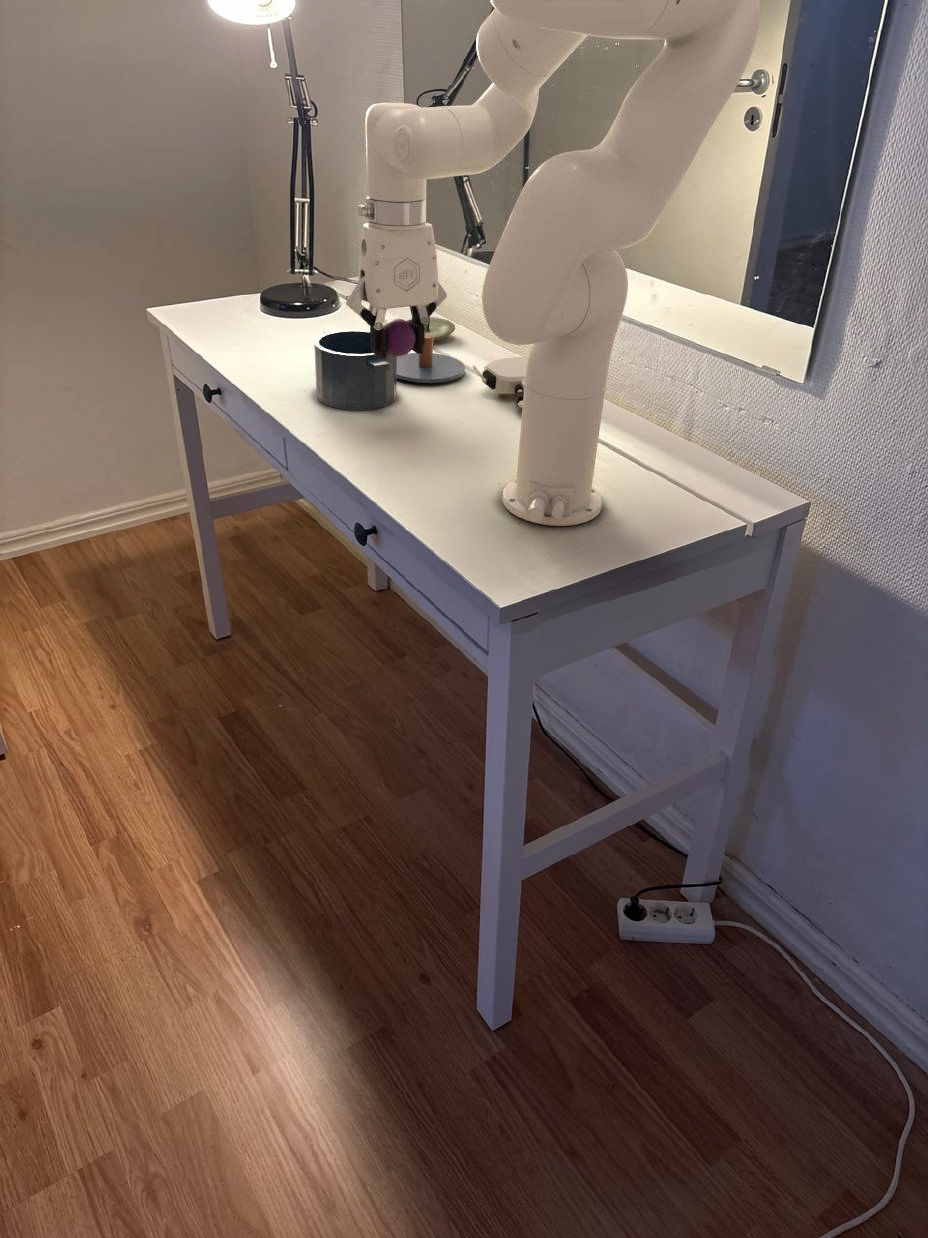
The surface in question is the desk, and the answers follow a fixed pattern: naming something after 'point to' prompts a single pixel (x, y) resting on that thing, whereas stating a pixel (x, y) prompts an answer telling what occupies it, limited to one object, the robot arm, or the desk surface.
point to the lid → (438, 327)
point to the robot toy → (506, 376)
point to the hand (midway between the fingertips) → (397, 352)
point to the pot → (353, 372)
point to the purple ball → (399, 337)
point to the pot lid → (428, 365)
